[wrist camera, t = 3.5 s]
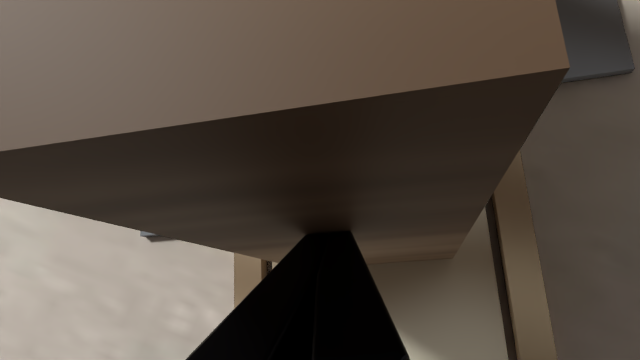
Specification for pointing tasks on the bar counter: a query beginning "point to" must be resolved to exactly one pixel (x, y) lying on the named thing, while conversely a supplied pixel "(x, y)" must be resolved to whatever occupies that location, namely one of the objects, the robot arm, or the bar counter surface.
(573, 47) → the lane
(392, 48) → the walnut block
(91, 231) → the bar counter surface
